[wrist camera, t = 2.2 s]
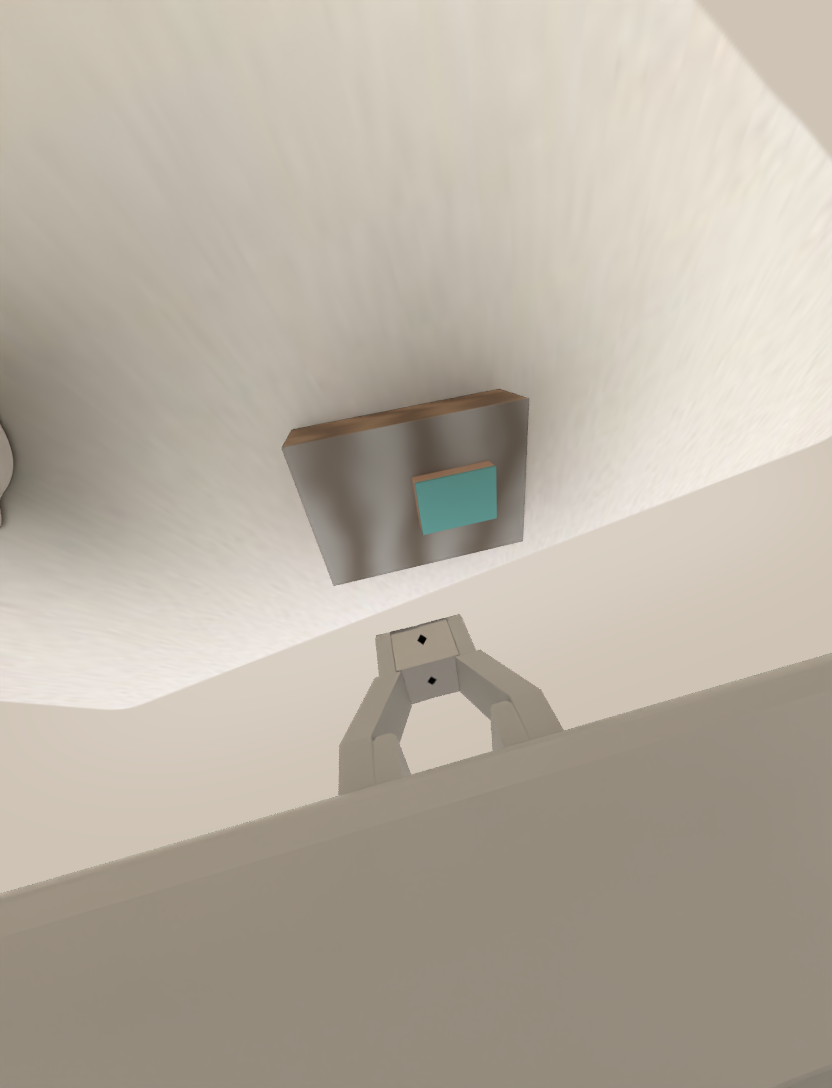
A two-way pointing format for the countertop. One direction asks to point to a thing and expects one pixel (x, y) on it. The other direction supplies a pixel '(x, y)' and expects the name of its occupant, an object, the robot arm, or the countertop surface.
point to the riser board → (407, 480)
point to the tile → (456, 497)
